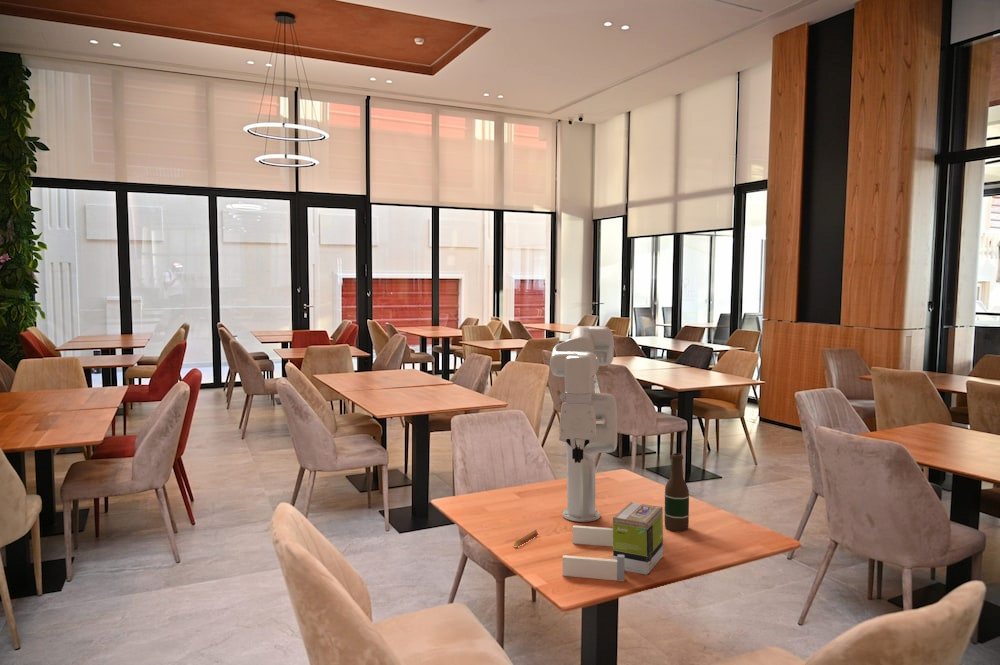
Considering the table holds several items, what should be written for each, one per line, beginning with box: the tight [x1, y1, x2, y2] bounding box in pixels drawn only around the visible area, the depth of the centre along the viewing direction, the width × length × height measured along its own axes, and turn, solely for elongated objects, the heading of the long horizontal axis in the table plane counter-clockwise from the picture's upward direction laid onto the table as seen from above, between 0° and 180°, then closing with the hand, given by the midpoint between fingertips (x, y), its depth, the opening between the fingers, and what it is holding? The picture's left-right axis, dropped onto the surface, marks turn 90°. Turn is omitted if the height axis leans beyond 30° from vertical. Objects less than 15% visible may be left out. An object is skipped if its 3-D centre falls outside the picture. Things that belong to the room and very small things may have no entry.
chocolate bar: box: [513, 529, 539, 547], centre depth 204 cm, size 3×12×2 cm, turn 146°
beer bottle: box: [664, 453, 690, 533], centre depth 214 cm, size 8×8×24 cm
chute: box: [562, 525, 625, 582], centre depth 189 cm, size 25×16×6 cm, turn 167°
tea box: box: [612, 502, 664, 576], centre depth 187 cm, size 15×10×15 cm, turn 150°
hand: (577, 461), depth 192 cm, fingers closed
